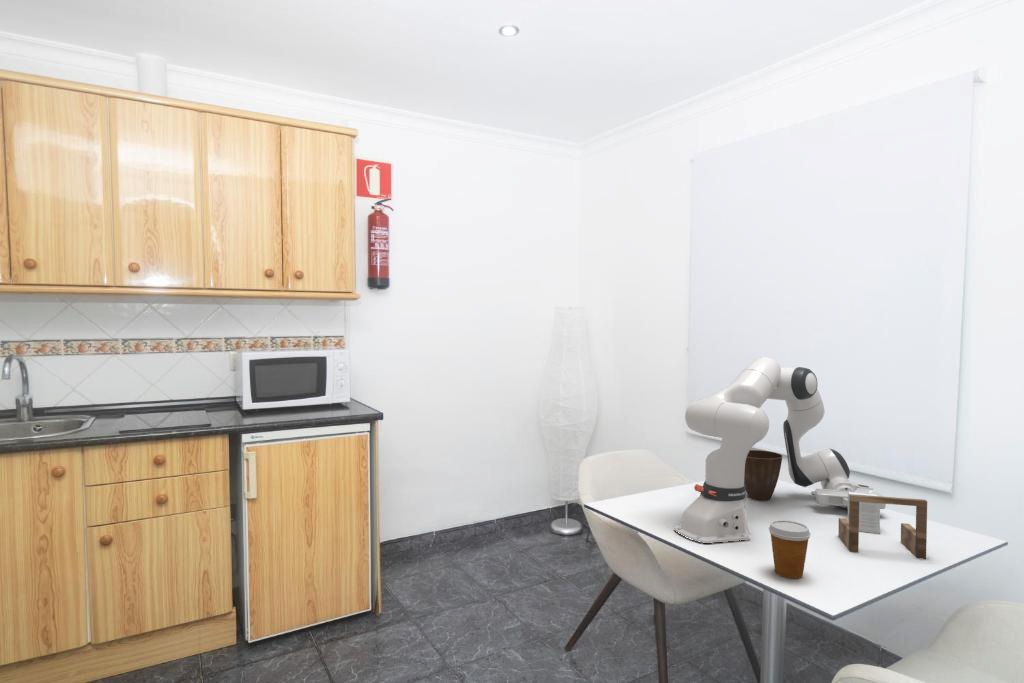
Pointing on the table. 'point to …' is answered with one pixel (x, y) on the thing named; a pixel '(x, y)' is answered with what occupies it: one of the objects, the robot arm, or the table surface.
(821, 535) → the table surface
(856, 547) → the wooden archway
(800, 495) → the table surface
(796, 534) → the disposable coffee cup
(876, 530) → the small box
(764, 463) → the plant pot
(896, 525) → the table surface
